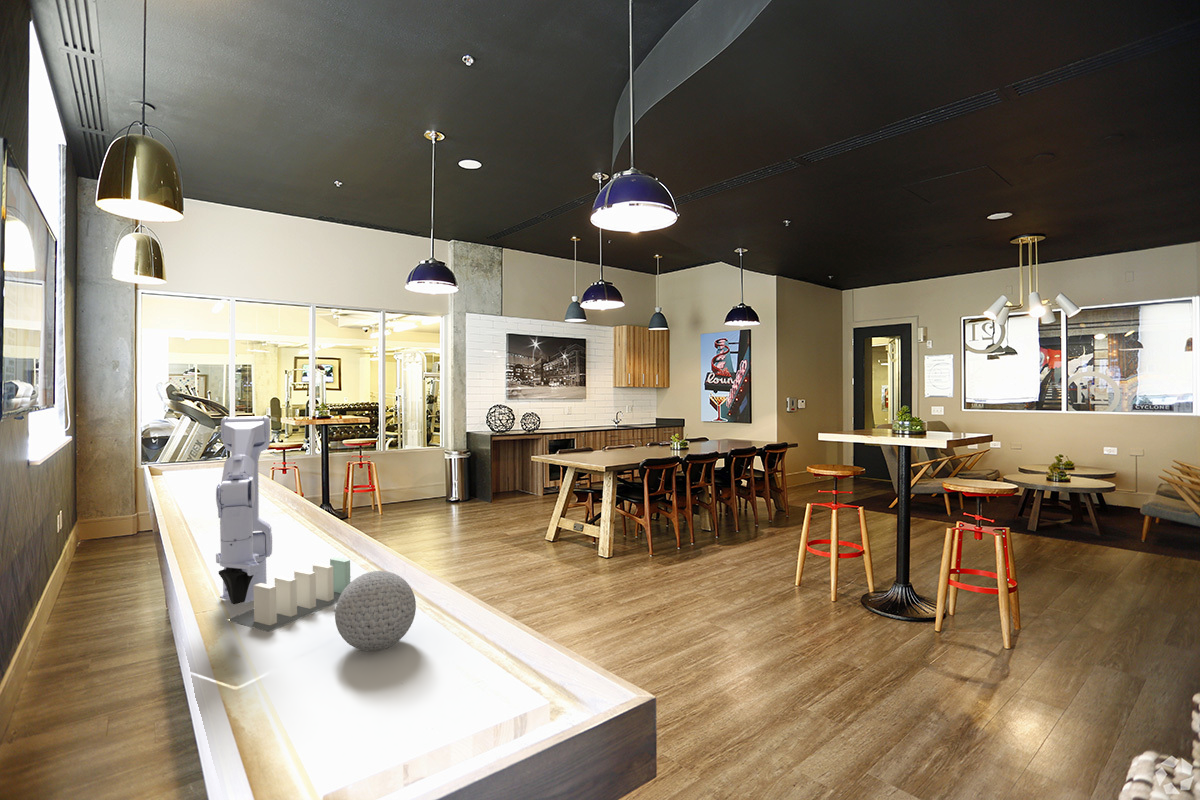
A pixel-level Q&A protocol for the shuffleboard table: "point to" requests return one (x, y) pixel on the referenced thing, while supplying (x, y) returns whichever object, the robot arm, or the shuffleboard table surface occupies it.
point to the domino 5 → (340, 573)
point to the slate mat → (248, 616)
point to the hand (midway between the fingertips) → (238, 602)
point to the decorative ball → (375, 610)
